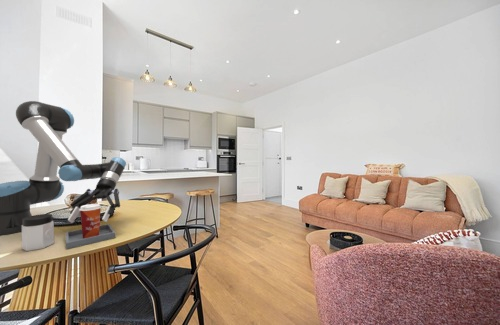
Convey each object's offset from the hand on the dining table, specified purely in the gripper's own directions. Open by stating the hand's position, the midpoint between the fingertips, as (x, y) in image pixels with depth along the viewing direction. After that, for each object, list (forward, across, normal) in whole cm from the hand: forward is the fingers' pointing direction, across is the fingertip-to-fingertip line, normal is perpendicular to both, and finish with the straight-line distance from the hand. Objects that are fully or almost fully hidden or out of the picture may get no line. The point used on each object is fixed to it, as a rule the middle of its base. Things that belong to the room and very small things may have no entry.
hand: (87, 221), depth 84 cm
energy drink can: (-12, +20, -24) cm, 34 cm away
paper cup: (+4, 0, -7) cm, 8 cm away
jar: (+9, +15, -3) cm, 18 cm away
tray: (+4, 0, -7) cm, 8 cm away
